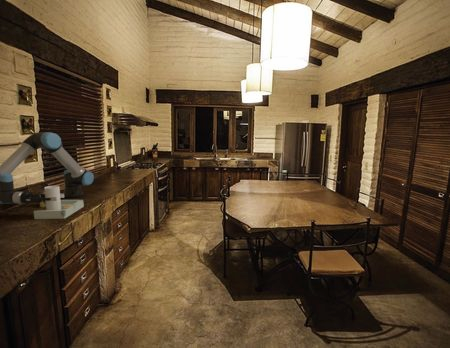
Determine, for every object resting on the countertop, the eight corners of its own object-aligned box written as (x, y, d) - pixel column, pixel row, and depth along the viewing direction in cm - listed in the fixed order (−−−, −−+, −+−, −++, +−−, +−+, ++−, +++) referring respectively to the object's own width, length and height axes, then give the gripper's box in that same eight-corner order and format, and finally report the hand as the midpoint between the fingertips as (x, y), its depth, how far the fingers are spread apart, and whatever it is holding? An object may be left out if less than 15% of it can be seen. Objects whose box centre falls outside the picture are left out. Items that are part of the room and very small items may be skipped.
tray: (34, 219, 163) (33, 210, 162) (58, 206, 190) (57, 199, 190) (64, 218, 165) (63, 209, 164) (83, 206, 192) (83, 198, 191)
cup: (58, 208, 176) (56, 185, 174) (63, 210, 171) (61, 186, 169) (44, 210, 170) (42, 186, 168) (48, 213, 165) (46, 188, 162)
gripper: (34, 199, 178) (68, 198, 181) (12, 207, 158) (51, 207, 160) (33, 188, 177) (67, 188, 179) (11, 195, 156) (50, 195, 159)
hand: (60, 197), depth 170 cm, fingers closed on cup, 8 cm apart
